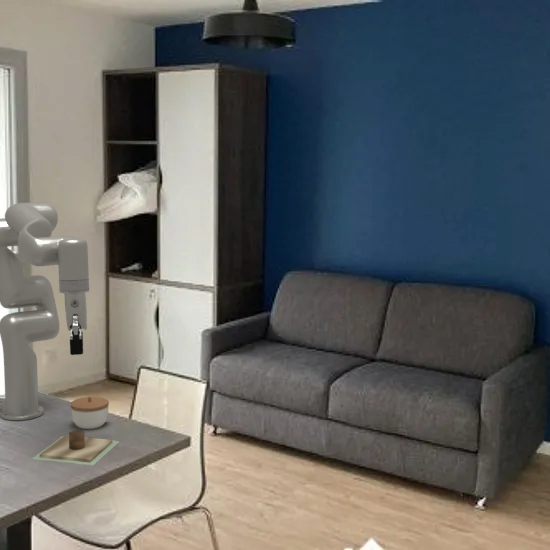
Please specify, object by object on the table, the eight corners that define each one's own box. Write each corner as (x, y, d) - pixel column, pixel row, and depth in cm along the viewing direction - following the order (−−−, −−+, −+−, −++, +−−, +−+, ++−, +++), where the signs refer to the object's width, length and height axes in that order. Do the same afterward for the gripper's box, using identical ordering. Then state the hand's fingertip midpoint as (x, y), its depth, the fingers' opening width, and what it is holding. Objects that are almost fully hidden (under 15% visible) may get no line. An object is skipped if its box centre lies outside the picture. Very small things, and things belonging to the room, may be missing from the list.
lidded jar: (99, 435, 214) (98, 403, 212) (64, 432, 216) (63, 401, 214) (115, 423, 224) (114, 392, 223) (81, 420, 226) (80, 389, 225)
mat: (31, 462, 194) (31, 459, 194) (62, 439, 210) (62, 435, 210) (93, 469, 191) (93, 465, 191) (119, 444, 207) (119, 441, 207)
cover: (39, 457, 195) (39, 439, 194) (64, 438, 209) (64, 421, 208) (90, 462, 192) (89, 444, 192) (112, 442, 206) (112, 425, 205)
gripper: (89, 289, 189) (92, 356, 191) (88, 281, 206) (91, 343, 208) (58, 291, 187) (61, 358, 189) (60, 282, 204) (62, 344, 206)
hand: (76, 350), depth 199 cm, fingers open, 9 cm apart
